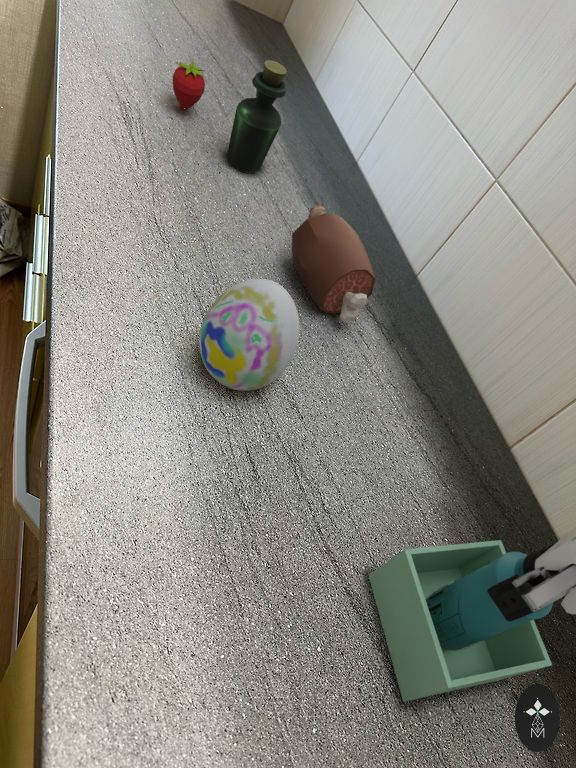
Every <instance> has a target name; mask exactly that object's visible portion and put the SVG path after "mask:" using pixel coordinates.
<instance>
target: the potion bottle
mask: <svg viewBox="0 0 576 768" xmlns="http://www.w3.org/2000/svg"><path fill="white" fill-rule="evenodd" d="M287 72H288V71H287V69H286V67H285V66H284V65H282V64H281V63H279V62H277V61H275V60H271V59H269V60H267V59H266V60H265V61H264V63H263V70H262V71H258V72H257V73H256V74H255V75H254V76H253V78H252V80H251V83H252V86H253V87H254V88H255V89H256V91H255V93H256V94H255V97H246V98H243V99H242V100H241V101H240V102H238V104H237V106H236V108H235V114H234V119H233V123H232V128H231V133H230V137H229V143H228V147H227V148H228V149H227V153H226V158H227V162H228V163H229V164H230V166H231V167H233V168H235V169H236V170H237V171H239V172H242V173H247V174H253V173H255V174H256V173H257V172H258V171H260V170H261V168H262V166H263V164H264V161H265V160H266V157H267V155H268V153H269V151H270V149H271V147H272V145H273V143H274V141H275V139H276V136H277V135H278V132H279V131H280V129H281V126H282V116H281V114H280V112H279V110H277V108H276V106H274V103H275V102H276V100H277V99H282V98H283V97H285V96H286V92H287V86H286V83H285V82H284V81H283V79H284V77H285V76H286V74H287Z"/></svg>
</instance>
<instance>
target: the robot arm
mask: <svg viewBox="0 0 576 768" xmlns="http://www.w3.org/2000/svg"><path fill="white" fill-rule="evenodd" d="M545 548H550V549H548V550H547V551H546V552H545V553H543V554H542V555H541V556H540V557H539V558H537V559H536V561H535V568H534V569H533V570H531V571H529V572H527V573H525V574H524V575H522V576H520V577H519V576H518V574H516V575H514V576H512V577H510V578H508V579H506V580H503V581H501V582H499V583H497V584H495V585H493V586H491V587H490V588H489V589H488V590H487V592H488V594H489V596H490V597H491V599H492V600H493V601H494V603H495V604H496V606H497V607H498V609H499V610H500V612H501V613H502V615H503V616H504V618H505V619H506V620H507V621H509V622H511V621H514V620H516V619H519V618H521V617H524V616H527V615H529V614H532V613H534V612H537V611H539V610H540V609H541V608H543V607H545V606H547V605H549V604H551V603H552V602H553V603H554V602H557V601H558V600H560V599H562V598H563V599H562V601H561V603H560V606H561V607H562V608H563V609H564V611H565V612H566V613H567V614H570V615H576V527H575V528H573V529H572V530H571V531H570V532H568V533H567V534H565V535H564V536H563V537H562V538H560V539H559V540H557V541H556V542H554V543H552V544H550V545H548V546H546V547H545ZM551 570H558V571H559V572H558V573H556V574H553V573H552V572H551ZM539 575H541V576H542V578H543V579H544V580H545V581H543V582H542V583H540V584H538V585H537V586H534V587H532V586H531V585H530V583H529V582H528V581H530V580H532V579H534V578H535V577H537V576H539Z"/></svg>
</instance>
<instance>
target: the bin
mask: <svg viewBox="0 0 576 768" xmlns="http://www.w3.org/2000/svg"><path fill="white" fill-rule="evenodd" d="M505 553H507V552H506V549H505V547H504V544H503V542H502V539H498V540H488V541H486V540H485V541H478V542H467V543H458V544H446V545H445V544H444V545H436V546H429V547H428V546H427V547H426V546H425V547H416V548H407V549H404V550H402V551H401V552H399V553H397V554H396V555H395V556H393V557H392V558H391V559H389V560H387V561H386V562H384V564H382V565H380V566H379V567H377V568H376V569H375V570H373V571H372V572H370V573H369V574H368V575H367V576H368V580H369V583H370V586H371V590H372V595H373V598H374V600H375V601H374V602H375V604H376V609H377V612H378V615H379V619H380V624H381V626H382V630H383V634H384V637H385V641H386V644H387V648H388V652H389V655H390V658H391V662H392V667H393V670H394V673H395V677H396V681H397V684H398V688H399V692H400V696H401V699H402V702H404V703H405V702H410V701H415V700H417V699H422V698H427V697H431V696H435V695H440V694H444V693H449V692H454V691H458V690H463V689H467V688H471V687H476V686H480V685H484V684H485V685H486V684H488V683H493V682H497V681H502V680H506V679H509V678H512V677H516V676H519V675H523V674H526V673H530V672H534V671H537V670H541V669H544V668H547V667H552V666H553V663H552V661H551V659H550V656H549V654H548V651H547V649H546V646H545V643H544V641H543V639H542V637H541V634H540V632H539V629H538V626H537V624H536V622H535V619H534V620H532V621H529V622H527V623H524V624H521V625H519V626H516V627H514V628H511V629H509V630H506V631H503V632H504V633H503V632H501V633H499V634H497V636H496V635H495V636H492V639H491V637H490V638H487V641H486V639H485V640H482V641H483V642H481V641H480V643H479V642H477V644H476V643H475V644H472V645H473V646H472V647H471V645H470V646H469V648H468V646H467V647H465V648H462V651H460V650H461V649H459V650H445V649H443V648H441V647H440V643H439V640H438V637H437V634H436V631H435V628H434V625H433V622H432V619H431V615H430V612H429V609H428V606H427V603H426V599H427V598H428V597H429V595H430V594H431V595H432V594H433V593H434V592H435V591H436V590H438V589H440V588H441V587H444V588H445V585H446V586H447V584H448V585H449V584H452V583H454V581H455V582H456V580H459V579H461V578H462V577H465V576H466V575H468V574H470V572H471V573H472V572H474V571H475V570H477V569H479V568H480V567H481V566H482V567H483V566H485V564H486V565H487V563H491V561H492V562H493V561H494V560H496V559H498V558H500V557H501V556H502V555H504V554H505ZM479 566H480V567H479ZM476 568H477V569H476ZM450 582H451V583H450ZM441 589H443V588H441ZM441 589H440V590H441ZM437 592H438V591H437ZM435 593H436V592H435ZM431 595H430V596H431ZM466 648H467V649H466ZM454 651H457V652H454Z"/></svg>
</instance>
